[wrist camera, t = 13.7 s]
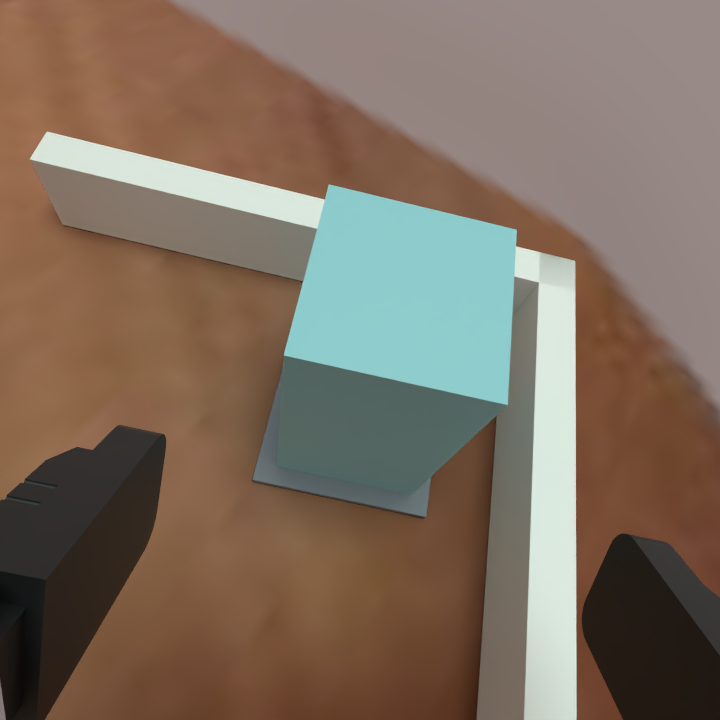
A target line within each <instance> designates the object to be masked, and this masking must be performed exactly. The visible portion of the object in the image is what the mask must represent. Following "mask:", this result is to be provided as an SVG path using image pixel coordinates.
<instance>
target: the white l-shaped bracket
mask: <svg viewBox="0 0 720 720" xmlns="http://www.w3.org/2000/svg"><path fill="white" fill-rule="evenodd" d="M30 161H31V163H32V165H33V167H34V169H35V171H36V173H37V175H38V177H39V179H40V181H41V183H42V185H43V187H44V189H45V191H46V193H47V195H48V197H49V199H50V201H51V203H52V205H53V207H54V209H55V211H56V213H57V215H58V217H59V219H60V221H61V223H62V225H66V226H70V227H75V228H79V229H83V230H87V231H92V232H96V233H100V234H104V235H109V236H113V237H117V238H121V239H126V240H130V241H134V242H138V243H142V244H147V245H151V246H155V247H159V248H164V249H168V250H172V251H176V252H181V253H185V254H189V255H193V256H198V257H202V258H206V259H210V260H215V261H219V262H223V263H227V264H231V265H236V266H240V267H244V268H248V269H253V270H257V271H261V272H265V273H270V274H274V275H278V276H282V277H287V278H291V279H295V280H299V281H304V277H305V273H306V269H307V266H308V262H309V258H310V254H311V250H312V247H313V243H314V239H315V235H316V232H317V228H318V224H319V220H320V216H321V213H322V209H323V205H324V201H325V200H324V199H320V198H316V197H312V196H308V195H303V194H299V193H295V192H291V191H287V190H283V189H279V188H275V187H271V186H267V185H263V184H259V183H254V182H250V181H246V180H242V179H238V178H234V177H230V176H226V175H222V174H218V173H214V172H210V171H205V170H201V169H197V168H193V167H189V166H185V165H181V164H177V163H173V162H169V161H165V160H161V159H156V158H152V157H148V156H144V155H140V154H136V153H132V152H128V151H124V150H120V149H116V148H112V147H107V146H103V145H99V144H95V143H91V142H87V141H83V140H79V139H75V138H71V137H67V136H63V135H58V134H54V133H50V132H47V133H46V134H45V136H44V137H43V139H42V140H41V142H40V144H39V145H38V147H37V148H36V150H35V152H34V153H33V155H32V156H31V158H30ZM282 375H283V368H282V372H281V376H280V379H279V383H278V387H277V390H276V394H275V398H274V402H273V405H272V409H271V413H270V416H269V420H268V424H267V427H266V431H265V435H264V439H263V442H262V446H261V450H260V453H259V457H258V461H257V465H256V468H255V472H254V476H253V479H252V481H253V482H257V483H262V484H267V485H271V486H276V487H281V488H285V489H290V490H295V491H299V492H304V493H309V494H313V495H318V496H323V497H327V498H332V499H337V500H341V501H346V502H351V503H355V504H360V505H365V506H369V507H374V508H379V509H383V510H388V511H393V512H397V513H402V514H407V515H411V516H416V517H421V518H425V517H426V515H427V506H428V498H429V490H430V481H431V477H430V478H429V479H428V480H427V481H426V482H424V483H423V484H422V485H421V486H420V487H419V488H418V489H417V490H416V491H415V492H414V493H413V494H412V495H410V494H405V493H401V492H396V491H391V490H386V489H382V488H377V487H372V486H367V485H362V484H358V483H353V482H348V481H343V480H339V479H334V478H329V477H324V476H320V475H315V474H310V473H305V472H300V471H296V470H291V469H286V468H281V467H277V453H278V438H279V422H280V406H281V391H282ZM476 720H576V407H575V261H573V260H569V259H565V258H561V257H557V256H553V255H549V254H544V253H540V252H536V251H532V250H528V249H524V248H520V247H516V254H515V274H514V293H513V312H512V332H511V351H510V371H509V390H508V405H507V406H506V407H505V408H504V409H503V410H502V411H501V412H500V413H499V414H498V415H497V420H496V435H495V450H494V465H493V480H492V494H491V509H490V524H489V539H488V554H487V569H486V584H485V599H484V613H483V628H482V643H481V658H480V673H479V688H478V703H477V718H476Z"/></svg>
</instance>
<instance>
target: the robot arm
mask: <svg viewBox="0 0 720 720" xmlns="http://www.w3.org/2000/svg"><path fill="white" fill-rule="evenodd" d="M165 450H166V437H165V435H164V434H160V433H155V432H151V431H146V430H141V429H137V428H132V427H127V426H123V425H118V426H117V427H115V428H114V429H113V430H112V431H111V432H110V433H109V434H108V435H107V436H106V437H105V438H104V439H103V440H102V441H101V442H100V443H99V444H98V445H97V446H96V447H95V448H94V449H93V450H89V449H84V448H79V447H76V448H74V449H71V450H69V451H66V452H64V453H62V454H59V455H57V456H55V457H52V458H50V459H48V460H46V461H45V462H44V463H42V464H41V465H40V466H39V467H38V468H37V469H36V470H35V471H34V472H32V473H31V474H30V475H29V476H28V477H27V478H26V479H25V481H24V483H20V484H19V485H18V486H17V487H16V488H14V489H13V490H12V491H11V492H10V493H9V494H8V495H7V497H6V499H5V500H1V501H0V720H45V718H46V717H47V715H48V713H49V712H50V710H51V708H52V706H53V705H54V703H55V701H56V700H57V698H58V696H59V695H60V693H61V691H62V689H63V688H64V686H65V684H66V683H67V681H68V679H69V678H70V676H71V674H72V672H73V671H74V669H75V667H76V666H77V664H78V662H79V661H80V659H81V657H82V656H83V654H84V652H85V650H86V649H87V647H88V645H89V644H90V642H91V640H92V639H93V637H94V635H95V633H96V632H97V630H98V628H99V627H100V625H101V623H102V622H103V620H104V618H105V616H106V615H107V613H108V611H109V610H110V608H111V606H112V605H113V603H114V601H115V599H116V598H117V596H118V594H119V593H120V591H121V589H122V588H123V586H124V584H125V582H126V581H127V579H128V577H129V576H130V574H131V572H132V571H133V569H134V567H135V565H136V564H137V562H138V560H139V559H140V557H141V555H142V554H143V552H144V550H145V548H146V546H147V544H148V541H149V539H150V536H151V533H152V530H153V527H154V523H155V519H156V514H157V507H158V500H159V493H160V486H161V479H162V472H163V464H164V457H165ZM582 628H583V633H584V637H585V640H586V642H587V644H588V647H589V649H590V651H591V653H592V655H593V657H594V659H595V661H596V663H597V665H598V668H599V670H600V672H601V674H602V676H603V678H604V680H605V682H606V684H607V687H608V689H609V691H610V693H611V695H612V697H613V699H614V701H615V703H616V706H617V708H618V710H619V712H620V714H621V716H622V718H623V720H720V598H719V597H718V596H717V595H716V594H714V593H713V592H712V591H711V590H709V589H708V588H707V587H706V586H705V585H703V584H702V582H701V581H700V580H699V579H698V578H697V576H696V575H695V574H694V573H693V571H692V570H691V569H690V568H689V567H688V565H687V564H686V563H685V562H684V561H683V559H682V558H681V557H680V556H679V555H678V553H677V552H676V551H675V550H674V549H673V547H672V546H671V545H669V544H668V543H666V542H662V541H658V540H653V539H648V538H644V537H639V536H634V535H629V534H620V535H618V536H617V537H616V538H614V540H613V541H612V543H611V545H610V547H609V549H608V551H607V554H606V556H605V558H604V560H603V562H602V565H601V567H600V569H599V571H598V574H597V576H596V578H595V580H594V582H593V585H592V587H591V589H590V591H589V594H588V596H587V598H586V600H585V603H584V607H583V612H582Z"/></svg>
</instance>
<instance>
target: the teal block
mask: <svg viewBox="0 0 720 720" xmlns="http://www.w3.org/2000/svg"><path fill="white" fill-rule="evenodd" d="M516 235H517V230H515V229H511V228H507V227H503V226H499V225H494V224H490V223H486V222H482V221H478V220H474V219H470V218H465V217H461V216H457V215H453V214H449V213H445V212H441V211H436V210H432V209H428V208H424V207H420V206H416V205H412V204H408V203H403V202H399V201H395V200H391V199H387V198H383V197H379V196H374V195H370V194H366V193H362V192H358V191H354V190H350V189H345V188H341V187H337V186H333V185H329V186H328V190H327V194H326V198H325V201H324V205H323V209H322V213H321V216H320V220H319V224H318V228H317V232H316V235H315V239H314V243H313V247H312V250H311V254H310V258H309V262H308V266H307V269H306V273H305V277H304V281H303V285H302V288H301V292H300V296H299V300H298V303H297V307H296V311H295V315H294V319H293V322H292V326H291V330H290V334H289V337H288V341H287V345H286V349H285V353H284V359H283V375H282V391H281V406H280V422H279V438H278V453H277V467H281V468H286V469H291V470H296V471H300V472H305V473H310V474H315V475H320V476H324V477H329V478H334V479H339V480H343V481H348V482H353V483H358V484H362V485H367V486H372V487H377V488H382V489H386V490H391V491H396V492H401V493H405V494H410V495H412V494H413V493H414V492H415V491H416V490H417V489H418V488H419V487H420V486H421V485H422V484H423V483H424V482H426V481H427V480H428V479H429V478H430V477H431V476H432V475H433V474H434V473H435V472H436V471H437V470H438V469H440V468H441V467H442V466H443V465H444V464H445V463H446V462H447V461H448V460H449V459H450V458H451V457H452V456H454V455H455V454H456V453H457V452H458V451H459V450H460V449H461V448H462V447H463V446H464V445H465V444H466V443H467V442H469V441H470V440H471V439H472V438H473V437H474V436H475V435H476V434H477V433H478V432H479V431H480V430H481V429H483V428H484V427H485V426H486V425H487V424H488V423H489V422H490V421H491V420H492V419H493V418H494V417H495V416H497V415H498V414H499V413H500V412H501V411H502V410H503V409H504V408H505V407H506V406H507V405H508V390H509V371H510V351H511V332H512V312H513V293H514V274H515V254H516Z"/></svg>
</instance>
